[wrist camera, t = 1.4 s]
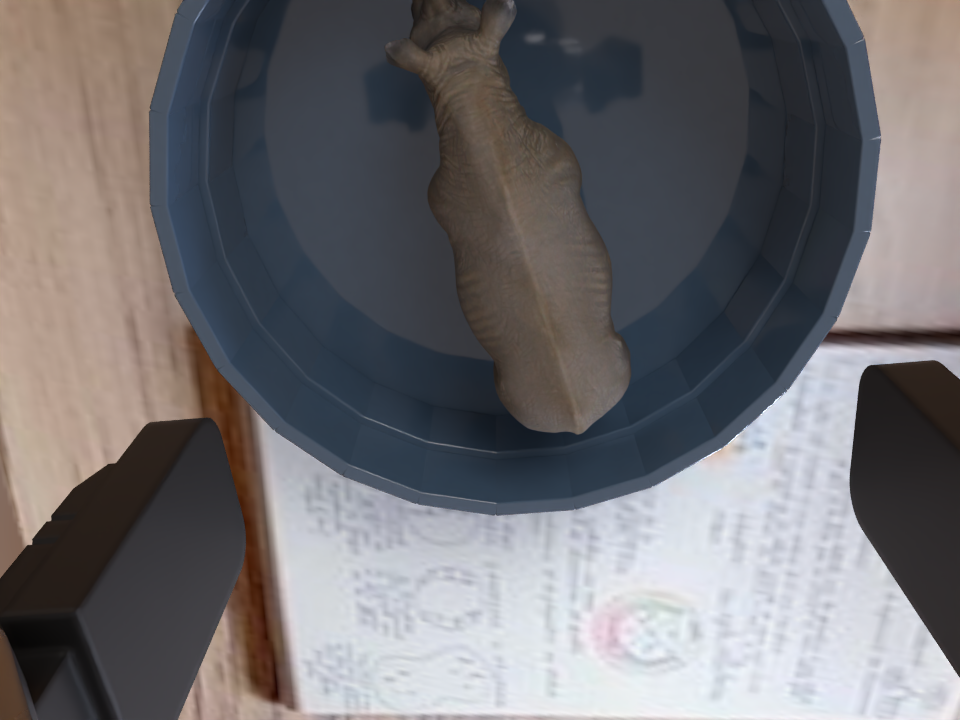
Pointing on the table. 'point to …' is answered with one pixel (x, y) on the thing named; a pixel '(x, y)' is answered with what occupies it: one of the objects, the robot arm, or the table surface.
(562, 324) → the rhino figurine
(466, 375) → the bowl
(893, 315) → the table surface
